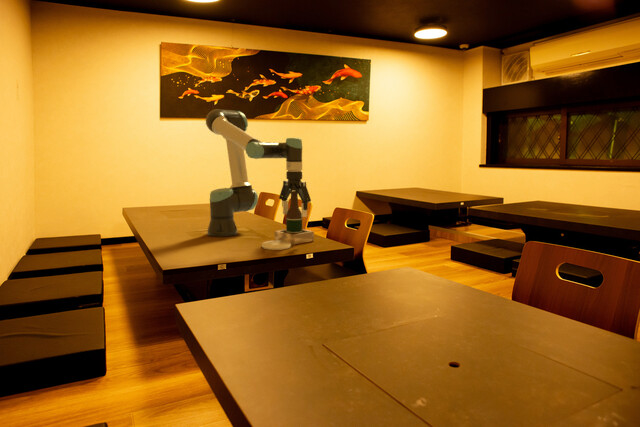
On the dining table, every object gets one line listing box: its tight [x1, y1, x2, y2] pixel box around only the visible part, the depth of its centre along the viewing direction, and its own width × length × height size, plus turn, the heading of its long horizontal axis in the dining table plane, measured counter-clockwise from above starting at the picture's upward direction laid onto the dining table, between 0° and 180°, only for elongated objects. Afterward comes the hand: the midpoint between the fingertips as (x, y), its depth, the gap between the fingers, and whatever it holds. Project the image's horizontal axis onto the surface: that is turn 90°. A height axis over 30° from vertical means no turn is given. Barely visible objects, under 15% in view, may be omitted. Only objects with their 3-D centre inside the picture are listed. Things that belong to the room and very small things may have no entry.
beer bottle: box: [285, 190, 303, 234], centre depth 211 cm, size 8×8×24 cm
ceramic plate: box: [261, 240, 292, 251], centre depth 199 cm, size 13×13×2 cm
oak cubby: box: [274, 228, 315, 246], centre depth 212 cm, size 13×13×4 cm
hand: (294, 215), depth 211 cm, fingers open, 13 cm apart
